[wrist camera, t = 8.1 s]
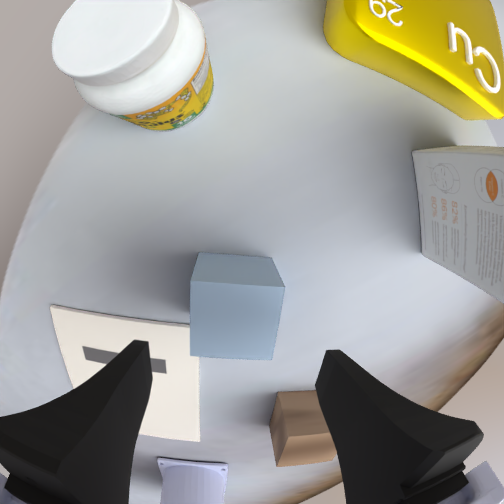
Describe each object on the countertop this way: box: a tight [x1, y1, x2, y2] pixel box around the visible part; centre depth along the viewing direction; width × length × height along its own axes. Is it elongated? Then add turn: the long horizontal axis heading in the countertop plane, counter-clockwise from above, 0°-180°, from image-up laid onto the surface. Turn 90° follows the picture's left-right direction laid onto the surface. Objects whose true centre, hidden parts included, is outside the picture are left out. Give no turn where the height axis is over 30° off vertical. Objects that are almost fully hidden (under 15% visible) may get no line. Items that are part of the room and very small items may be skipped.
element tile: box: [323, 0, 504, 120], centre depth 11 cm, size 15×15×5 cm
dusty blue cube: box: [190, 252, 285, 360], centre depth 16 cm, size 4×4×4 cm
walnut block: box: [269, 390, 337, 467], centre depth 20 cm, size 5×5×5 cm
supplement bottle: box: [52, 0, 214, 131], centre depth 9 cm, size 5×5×10 cm
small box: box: [412, 146, 504, 304], centre depth 12 cm, size 8×6×10 cm
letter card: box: [50, 305, 200, 442], centre depth 20 cm, size 14×12×1 cm
